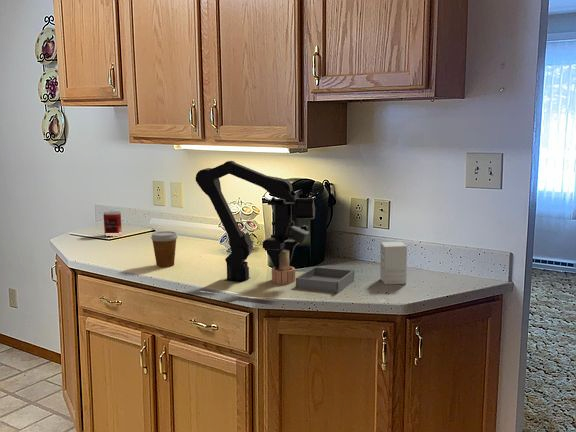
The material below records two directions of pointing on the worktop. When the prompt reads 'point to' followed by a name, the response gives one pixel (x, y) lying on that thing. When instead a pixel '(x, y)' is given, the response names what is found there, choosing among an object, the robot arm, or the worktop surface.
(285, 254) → the dowel
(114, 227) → the canned food
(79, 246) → the worktop surface
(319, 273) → the tray
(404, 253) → the supplement box
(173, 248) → the disposable coffee cup
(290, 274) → the pink short hollow cylinder
